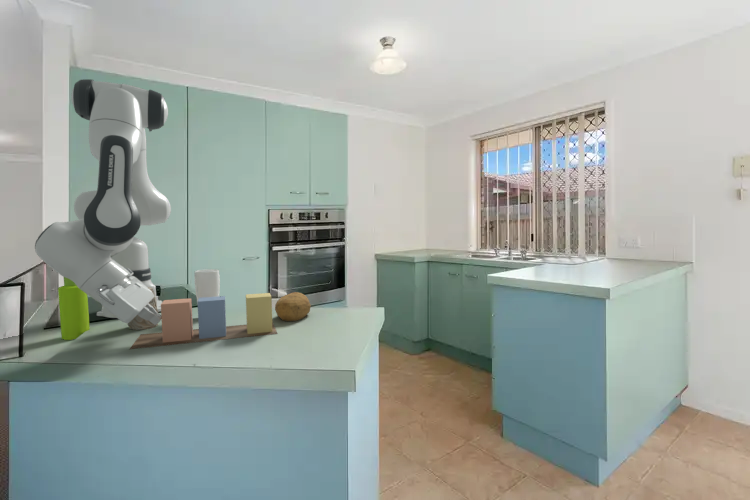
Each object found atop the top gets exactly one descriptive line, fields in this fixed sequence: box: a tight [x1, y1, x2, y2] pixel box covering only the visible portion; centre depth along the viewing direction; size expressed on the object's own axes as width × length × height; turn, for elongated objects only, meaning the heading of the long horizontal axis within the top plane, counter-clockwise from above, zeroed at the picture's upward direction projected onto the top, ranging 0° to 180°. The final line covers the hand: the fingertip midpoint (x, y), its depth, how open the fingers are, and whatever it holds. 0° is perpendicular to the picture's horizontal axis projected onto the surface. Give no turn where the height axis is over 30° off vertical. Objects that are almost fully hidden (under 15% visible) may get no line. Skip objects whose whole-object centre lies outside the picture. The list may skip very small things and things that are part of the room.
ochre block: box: [245, 292, 273, 334], centre depth 101 cm, size 5×6×9 cm
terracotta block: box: [160, 298, 194, 343], centre depth 95 cm, size 5×6×9 cm
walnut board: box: [129, 321, 278, 350], centre depth 99 cm, size 12×32×2 cm, turn 110°
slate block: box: [197, 295, 227, 339], centre depth 98 cm, size 5×6×9 cm
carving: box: [126, 287, 159, 331], centre depth 106 cm, size 6×8×12 cm
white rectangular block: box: [194, 268, 221, 305], centre depth 117 cm, size 7×7×15 cm
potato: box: [274, 291, 312, 322], centre depth 115 cm, size 10×14×8 cm
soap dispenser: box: [57, 277, 91, 341], centre depth 102 cm, size 6×7×20 cm
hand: (159, 321), depth 94 cm, fingers closed
